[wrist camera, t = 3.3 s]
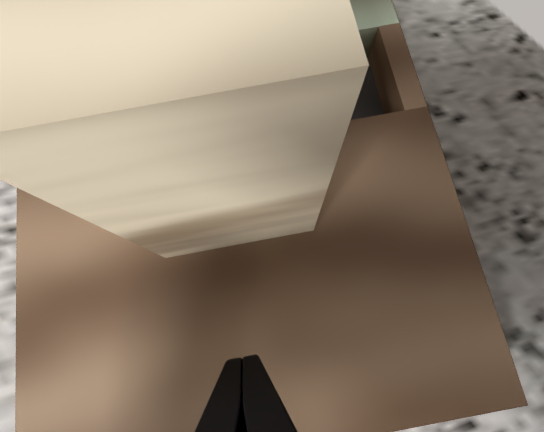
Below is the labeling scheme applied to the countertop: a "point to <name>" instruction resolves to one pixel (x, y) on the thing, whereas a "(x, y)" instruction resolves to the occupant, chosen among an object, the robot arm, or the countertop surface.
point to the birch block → (179, 113)
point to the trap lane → (277, 295)
